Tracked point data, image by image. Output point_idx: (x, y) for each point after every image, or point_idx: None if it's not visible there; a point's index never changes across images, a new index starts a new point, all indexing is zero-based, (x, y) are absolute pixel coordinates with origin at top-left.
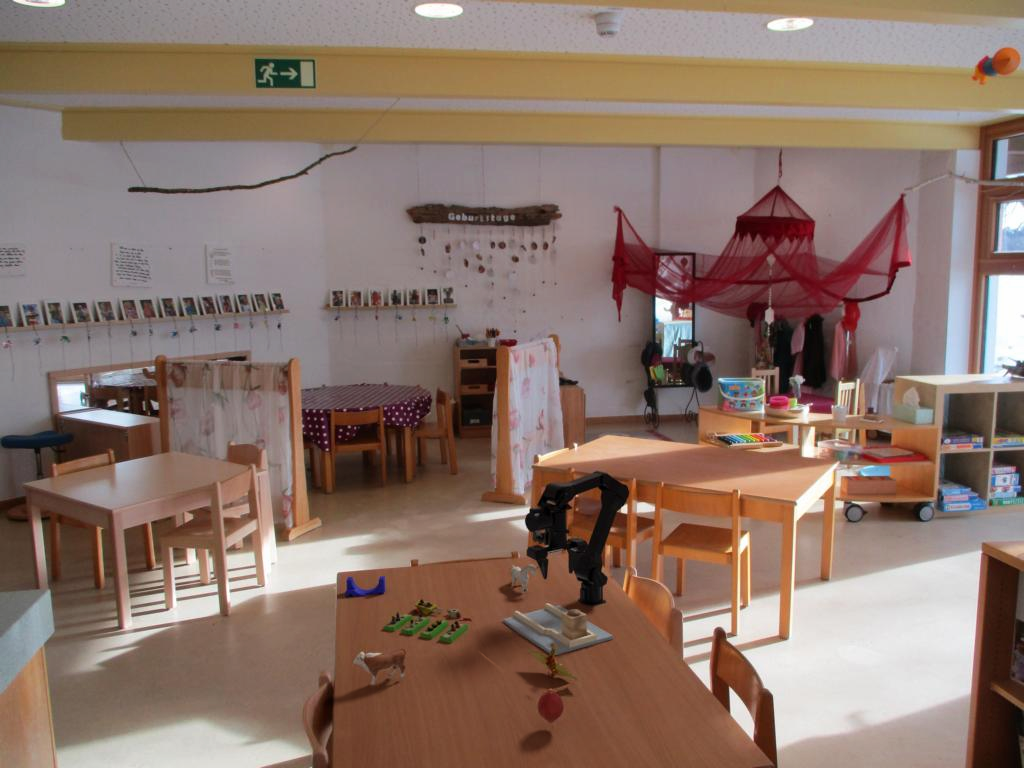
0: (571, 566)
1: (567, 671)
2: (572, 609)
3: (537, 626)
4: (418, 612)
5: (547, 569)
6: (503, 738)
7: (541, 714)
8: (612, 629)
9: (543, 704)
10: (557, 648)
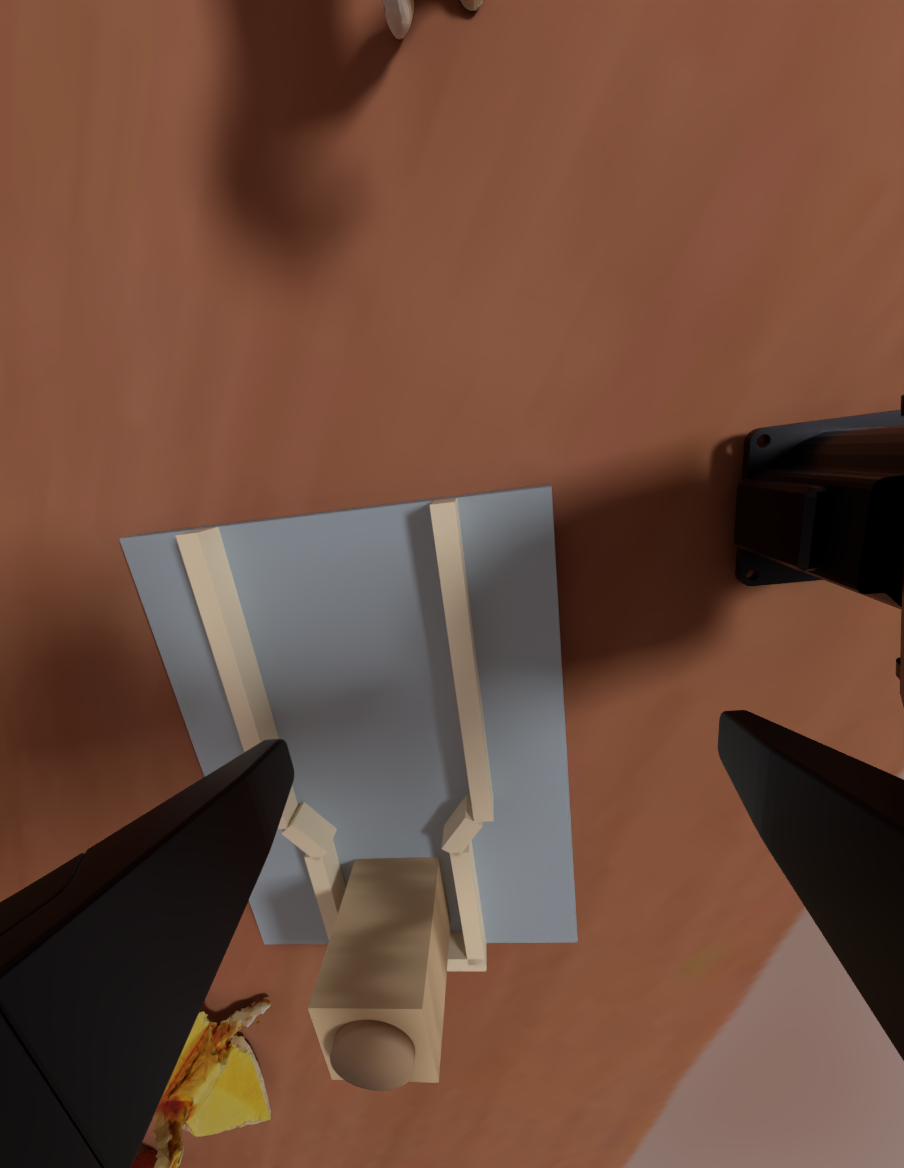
0: (806, 870)
1: (230, 1124)
2: (378, 1041)
3: None
4: None
5: (195, 1007)
6: None
7: None
8: (640, 856)
9: None
10: (293, 928)
